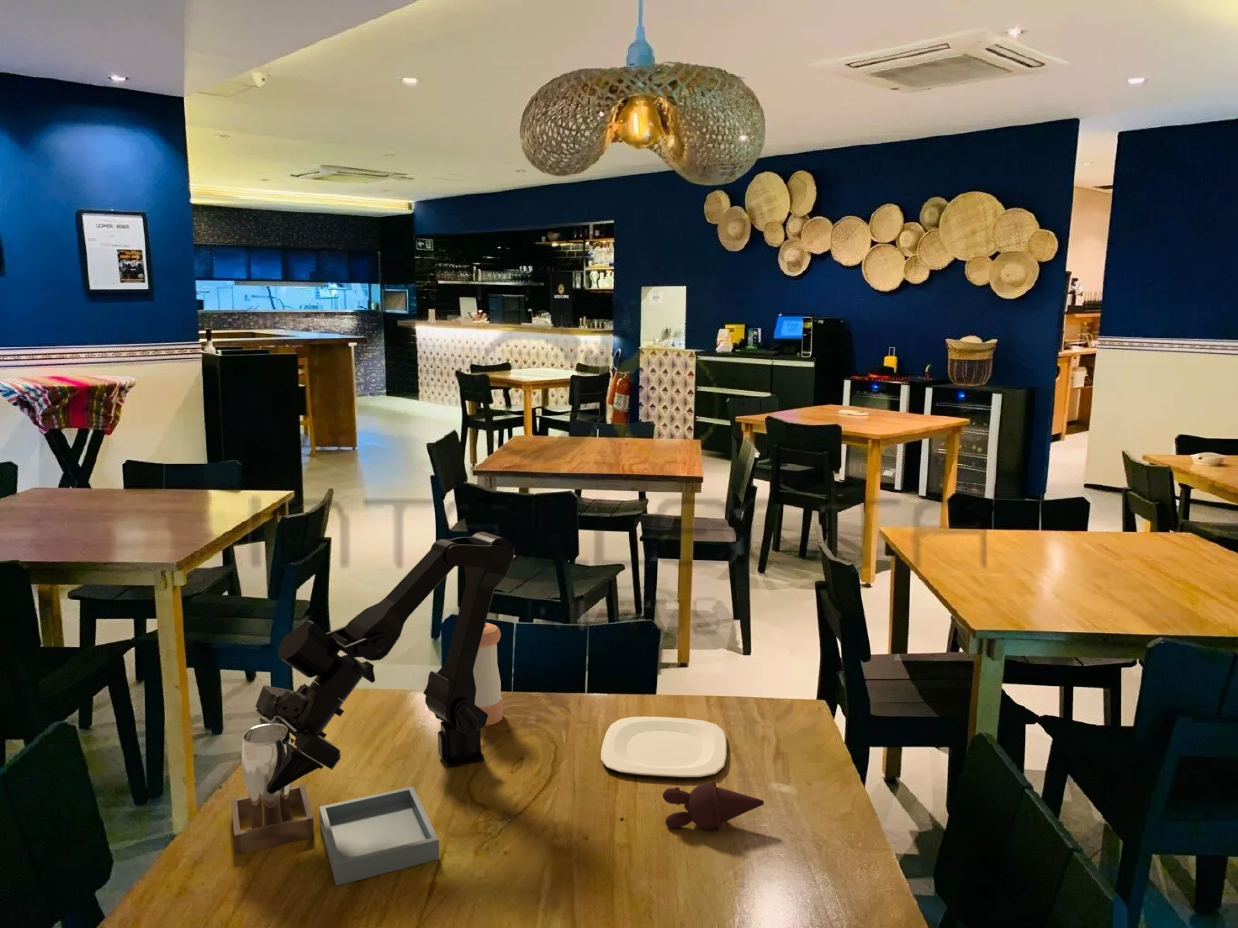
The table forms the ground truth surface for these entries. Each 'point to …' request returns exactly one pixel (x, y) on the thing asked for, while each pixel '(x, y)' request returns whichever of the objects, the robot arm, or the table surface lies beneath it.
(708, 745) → the plate
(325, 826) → the tray
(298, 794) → the rectangular frame
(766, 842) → the table surface
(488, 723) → the salt shaker
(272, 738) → the silver metal cup
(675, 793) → the icecream
